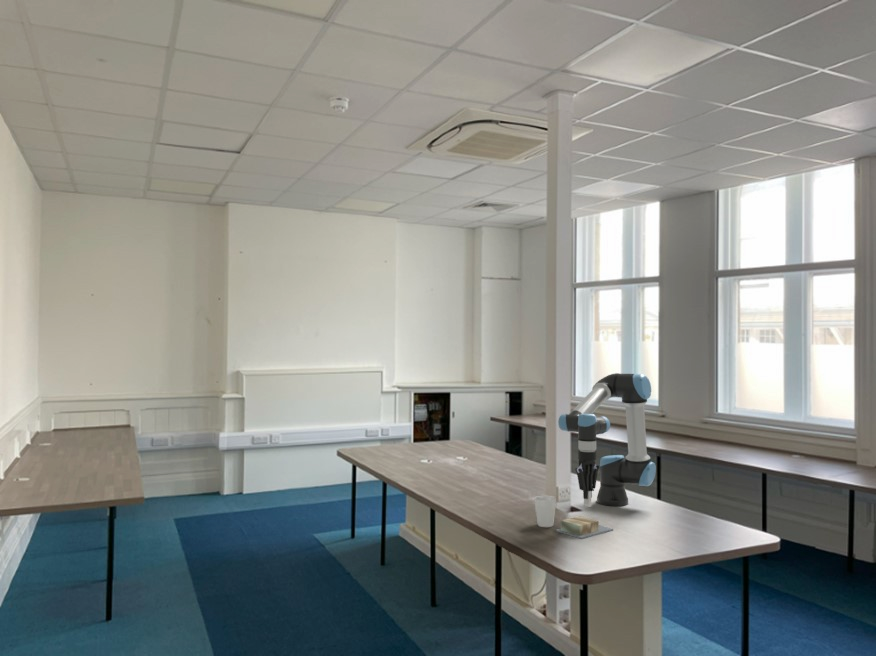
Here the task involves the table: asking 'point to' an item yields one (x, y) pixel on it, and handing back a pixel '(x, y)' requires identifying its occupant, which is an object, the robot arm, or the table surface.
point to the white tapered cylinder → (545, 510)
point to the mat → (601, 530)
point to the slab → (579, 525)
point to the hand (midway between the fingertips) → (587, 506)
